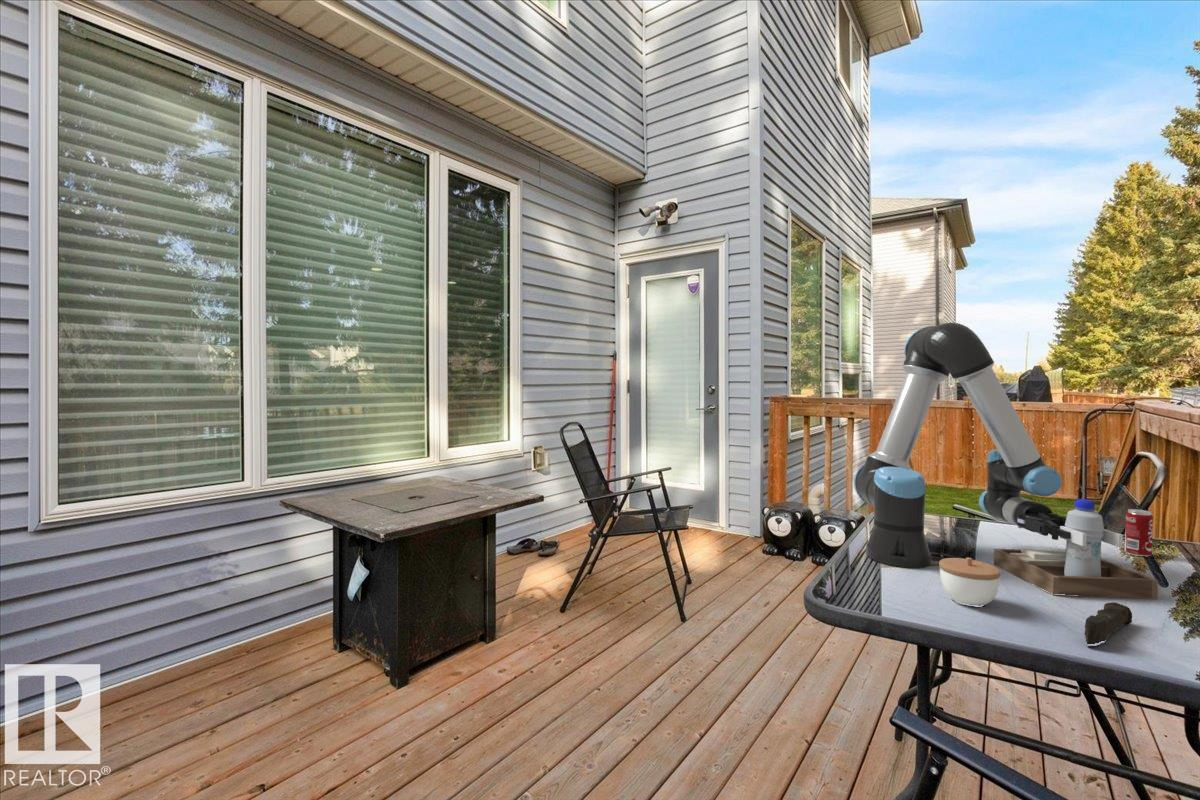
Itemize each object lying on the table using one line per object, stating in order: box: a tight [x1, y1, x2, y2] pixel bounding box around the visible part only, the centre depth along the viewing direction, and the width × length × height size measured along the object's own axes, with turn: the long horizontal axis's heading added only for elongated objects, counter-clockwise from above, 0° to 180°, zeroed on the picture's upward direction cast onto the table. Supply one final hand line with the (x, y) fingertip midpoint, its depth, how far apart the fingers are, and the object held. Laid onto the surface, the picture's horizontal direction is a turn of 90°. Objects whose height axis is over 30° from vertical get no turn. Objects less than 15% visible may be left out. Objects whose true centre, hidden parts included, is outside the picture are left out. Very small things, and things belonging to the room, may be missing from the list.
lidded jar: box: [938, 557, 1001, 606], centre depth 115 cm, size 11×11×9 cm
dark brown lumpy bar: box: [1084, 601, 1133, 644], centre depth 100 cm, size 19×4×5 cm, turn 122°
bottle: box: [1064, 498, 1105, 577], centre depth 123 cm, size 7×7×20 cm
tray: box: [993, 548, 1159, 599], centre depth 127 cm, size 20×21×4 cm
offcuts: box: [1010, 546, 1066, 565], centre depth 132 cm, size 7×17×4 cm, turn 85°
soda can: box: [1124, 508, 1154, 557], centre depth 146 cm, size 5×5×12 cm
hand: (1102, 540), depth 118 cm, fingers closed on bottle, 7 cm apart
